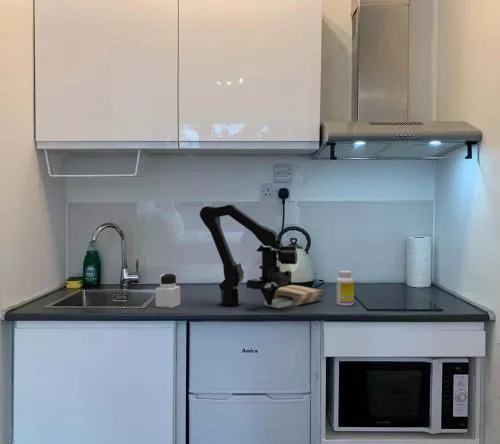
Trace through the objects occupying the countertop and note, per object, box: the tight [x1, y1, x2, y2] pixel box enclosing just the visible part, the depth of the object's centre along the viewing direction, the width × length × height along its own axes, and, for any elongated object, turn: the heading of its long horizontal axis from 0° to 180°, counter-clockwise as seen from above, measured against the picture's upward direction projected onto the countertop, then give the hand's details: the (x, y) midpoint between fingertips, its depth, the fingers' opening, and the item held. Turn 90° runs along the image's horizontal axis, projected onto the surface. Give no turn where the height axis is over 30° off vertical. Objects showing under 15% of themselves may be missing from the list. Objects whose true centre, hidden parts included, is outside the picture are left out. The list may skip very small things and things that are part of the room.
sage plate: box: [263, 296, 295, 309], centre depth 188 cm, size 14×7×2 cm, turn 133°
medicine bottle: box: [155, 273, 181, 309], centre depth 185 cm, size 7×7×12 cm
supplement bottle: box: [335, 270, 355, 307], centre depth 187 cm, size 7×7×13 cm
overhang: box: [274, 284, 324, 306], centre depth 193 cm, size 14×16×5 cm
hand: (269, 304), depth 183 cm, fingers closed
